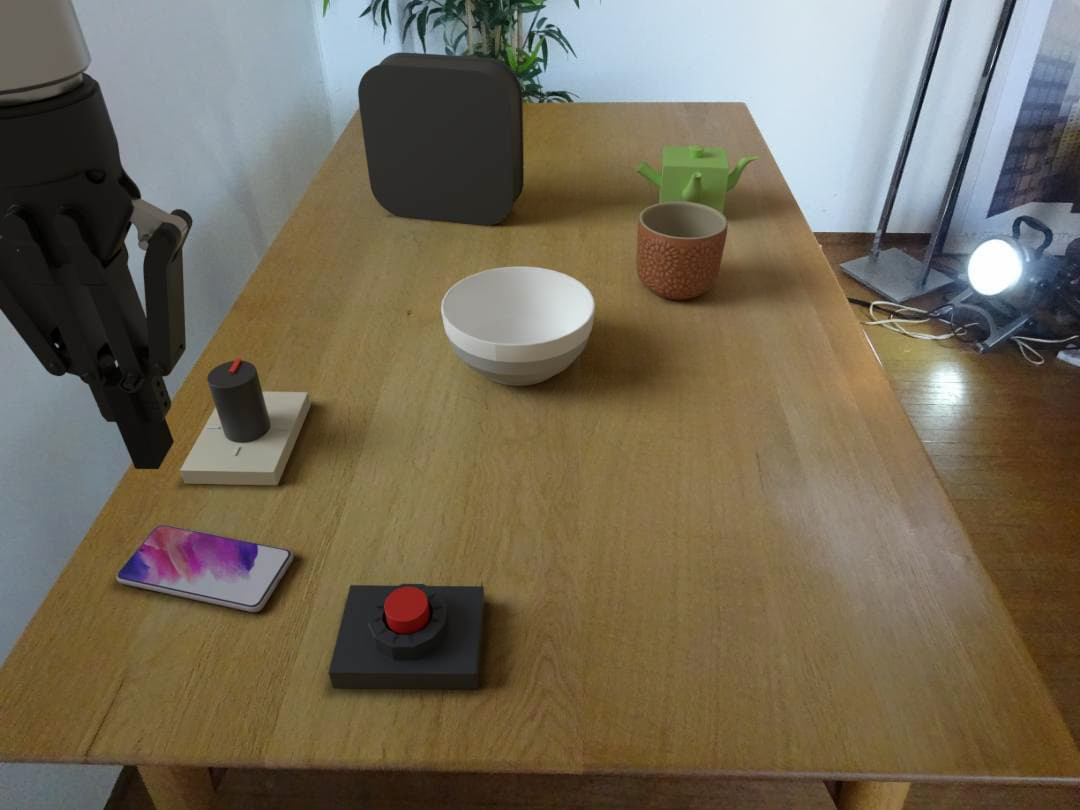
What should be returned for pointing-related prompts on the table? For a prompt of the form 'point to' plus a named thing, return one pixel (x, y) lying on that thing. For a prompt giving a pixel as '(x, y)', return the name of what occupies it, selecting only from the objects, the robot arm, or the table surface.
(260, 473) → the panel
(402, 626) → the power button
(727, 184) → the kettle
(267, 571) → the smartphone
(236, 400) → the dial
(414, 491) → the table surface
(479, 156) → the speaker
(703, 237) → the planter
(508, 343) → the bowl
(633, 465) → the table surface
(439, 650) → the switch box
